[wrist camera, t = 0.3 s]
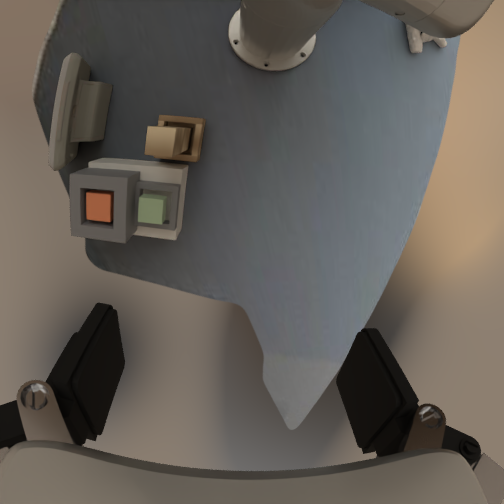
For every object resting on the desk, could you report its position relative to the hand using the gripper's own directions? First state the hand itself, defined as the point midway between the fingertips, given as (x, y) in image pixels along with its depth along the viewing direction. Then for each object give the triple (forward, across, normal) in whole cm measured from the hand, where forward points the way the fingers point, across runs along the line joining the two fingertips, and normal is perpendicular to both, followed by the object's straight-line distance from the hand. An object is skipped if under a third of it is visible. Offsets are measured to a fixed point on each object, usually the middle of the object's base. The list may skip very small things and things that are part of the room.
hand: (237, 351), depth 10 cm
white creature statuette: (+34, -26, -34) cm, 55 cm away
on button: (+28, +10, +3) cm, 30 cm away
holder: (+34, +8, -6) cm, 36 cm away
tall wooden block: (+33, +8, -6) cm, 35 cm away
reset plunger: (+26, +17, +3) cm, 32 cm away
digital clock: (+35, +25, -10) cm, 44 cm away
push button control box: (+34, +14, +3) cm, 37 cm away
